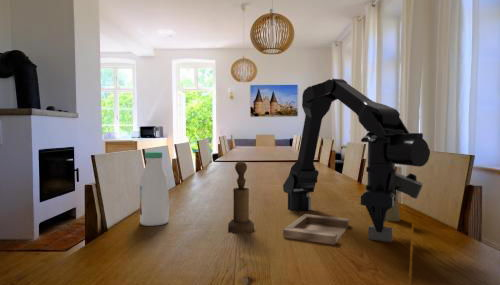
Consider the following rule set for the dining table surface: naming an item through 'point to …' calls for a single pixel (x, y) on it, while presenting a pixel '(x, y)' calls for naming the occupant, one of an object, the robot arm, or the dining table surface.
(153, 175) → the milk bottle
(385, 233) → the cover plate
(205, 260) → the dining table surface
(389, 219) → the cork
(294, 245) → the dining table surface
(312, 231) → the wooden tray
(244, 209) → the wooden pepper mill
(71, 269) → the dining table surface
